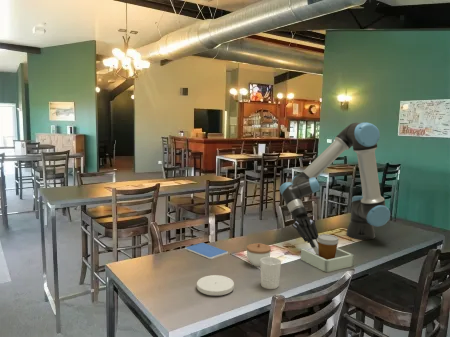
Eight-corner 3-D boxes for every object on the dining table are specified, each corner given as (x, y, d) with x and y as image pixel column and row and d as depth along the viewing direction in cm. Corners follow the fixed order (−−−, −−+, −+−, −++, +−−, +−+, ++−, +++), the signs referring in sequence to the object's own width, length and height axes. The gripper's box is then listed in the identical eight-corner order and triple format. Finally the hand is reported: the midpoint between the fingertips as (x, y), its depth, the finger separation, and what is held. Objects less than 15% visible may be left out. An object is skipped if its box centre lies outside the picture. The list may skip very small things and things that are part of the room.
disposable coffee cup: (339, 267, 158) (341, 241, 156) (317, 266, 158) (319, 240, 157) (334, 259, 167) (336, 234, 165) (314, 258, 168) (315, 233, 166)
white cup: (257, 281, 142) (258, 257, 141) (277, 280, 143) (278, 256, 142) (261, 290, 134) (262, 264, 133) (282, 289, 135) (283, 264, 134)
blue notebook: (183, 249, 178) (183, 247, 177) (202, 244, 186) (202, 241, 186) (209, 260, 164) (209, 258, 164) (229, 254, 173) (229, 251, 173)
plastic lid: (189, 291, 133) (189, 285, 133) (210, 278, 145) (210, 272, 145) (221, 301, 126) (221, 295, 125) (240, 286, 138) (240, 280, 137)
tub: (326, 253, 174) (327, 244, 173) (353, 265, 160) (354, 255, 159) (300, 259, 166) (301, 249, 165) (326, 272, 152) (326, 261, 151)
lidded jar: (254, 270, 153) (255, 249, 152) (241, 261, 162) (242, 241, 161) (275, 266, 158) (275, 245, 156) (261, 258, 167) (262, 238, 166)
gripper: (303, 212, 184) (325, 254, 172) (283, 215, 178) (304, 259, 166) (311, 205, 179) (333, 247, 167) (290, 207, 173) (312, 251, 161)
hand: (319, 253), depth 166 cm, fingers closed
